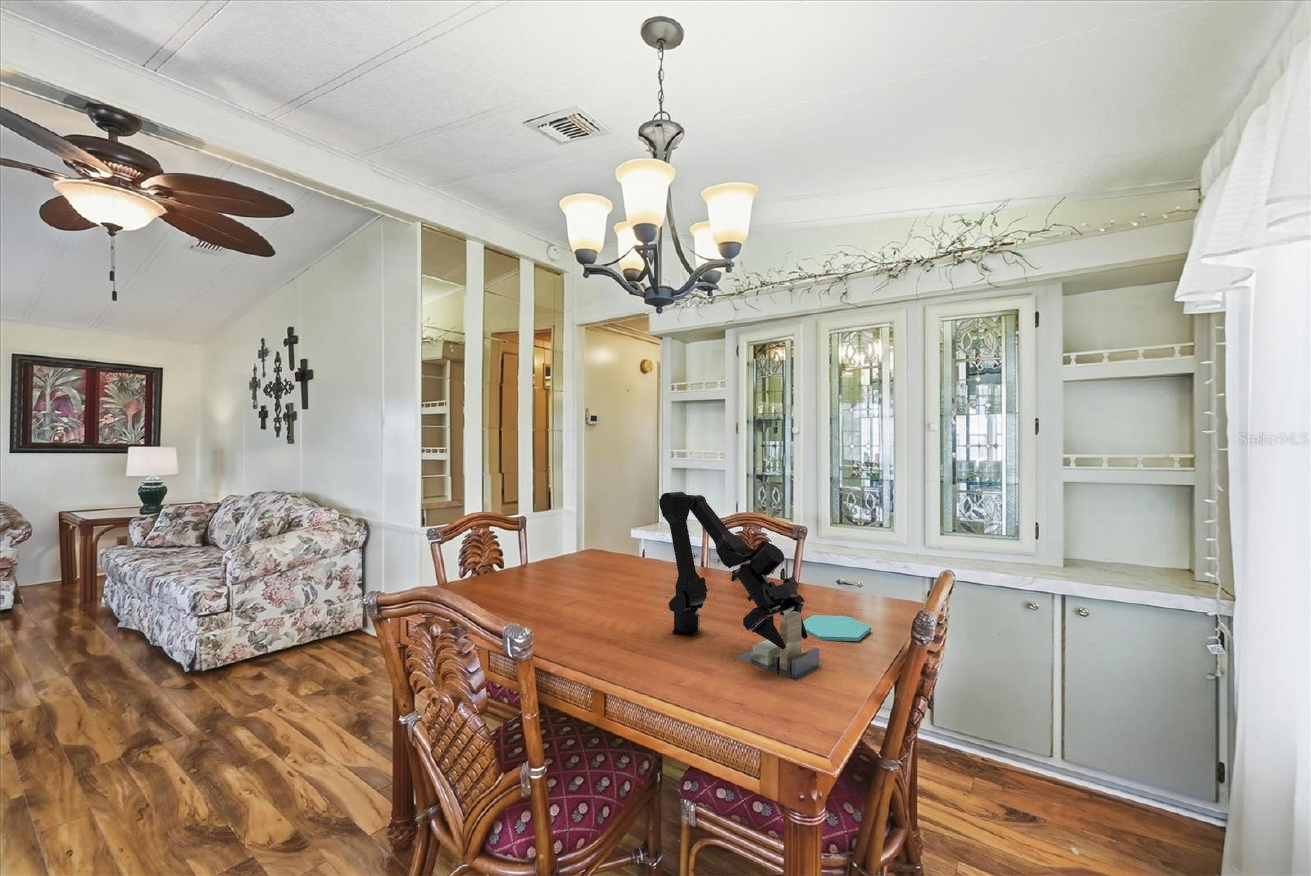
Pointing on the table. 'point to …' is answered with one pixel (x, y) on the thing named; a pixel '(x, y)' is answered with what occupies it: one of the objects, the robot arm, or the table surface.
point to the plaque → (836, 628)
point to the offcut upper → (766, 648)
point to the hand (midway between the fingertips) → (795, 643)
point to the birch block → (790, 637)
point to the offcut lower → (763, 658)
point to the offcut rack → (789, 664)
